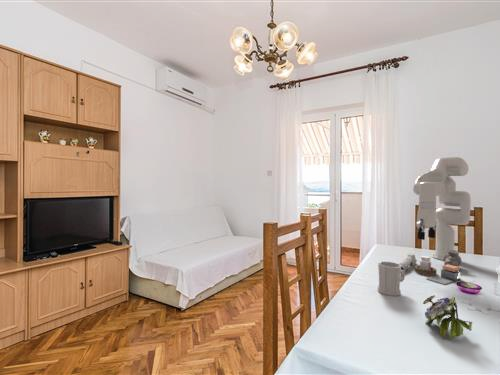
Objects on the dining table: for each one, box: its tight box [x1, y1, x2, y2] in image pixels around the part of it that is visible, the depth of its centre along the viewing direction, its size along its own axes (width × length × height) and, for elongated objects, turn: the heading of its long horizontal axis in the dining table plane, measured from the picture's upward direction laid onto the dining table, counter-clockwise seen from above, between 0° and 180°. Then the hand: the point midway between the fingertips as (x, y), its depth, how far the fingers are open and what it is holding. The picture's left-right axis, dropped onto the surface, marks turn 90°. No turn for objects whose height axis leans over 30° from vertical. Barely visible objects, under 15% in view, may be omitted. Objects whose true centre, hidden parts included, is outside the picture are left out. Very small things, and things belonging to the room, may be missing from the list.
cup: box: [377, 261, 406, 297], centre depth 118 cm, size 10×9×12 cm
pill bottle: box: [419, 255, 432, 270], centre depth 144 cm, size 5×5×8 cm
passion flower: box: [422, 295, 473, 340], centre depth 87 cm, size 13×12×14 cm
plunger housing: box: [440, 268, 459, 283], centre depth 135 cm, size 6×6×4 cm
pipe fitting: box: [443, 249, 462, 267], centre depth 151 cm, size 12×8×10 cm
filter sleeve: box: [414, 264, 437, 277], centre depth 144 cm, size 9×9×2 cm
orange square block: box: [442, 264, 460, 272], centre depth 135 cm, size 5×5×5 cm
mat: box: [426, 275, 455, 286], centre depth 132 cm, size 8×8×1 cm
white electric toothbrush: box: [398, 252, 418, 273], centre depth 152 cm, size 5×7×25 cm
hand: (426, 238), depth 143 cm, fingers open, 9 cm apart
